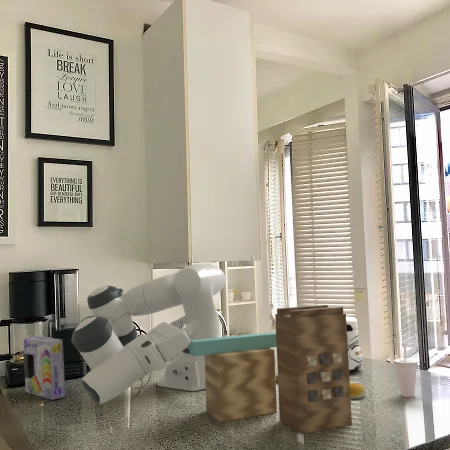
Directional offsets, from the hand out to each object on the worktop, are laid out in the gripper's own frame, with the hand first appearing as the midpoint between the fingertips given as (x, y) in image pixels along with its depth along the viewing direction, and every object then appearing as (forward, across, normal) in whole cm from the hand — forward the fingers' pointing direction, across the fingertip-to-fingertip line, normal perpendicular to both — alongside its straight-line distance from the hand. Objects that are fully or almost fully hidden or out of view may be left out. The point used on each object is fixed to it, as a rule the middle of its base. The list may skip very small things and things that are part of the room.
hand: (191, 320), depth 122 cm
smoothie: (+40, +9, -52) cm, 66 cm away
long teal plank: (+7, 0, -14) cm, 15 cm away
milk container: (+41, -26, -53) cm, 72 cm away
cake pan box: (-43, -45, -5) cm, 63 cm away
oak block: (-1, 0, -28) cm, 28 cm away
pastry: (+23, -22, -42) cm, 53 cm away
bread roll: (+28, +1, -45) cm, 53 cm away
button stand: (+10, +16, -34) cm, 39 cm away
